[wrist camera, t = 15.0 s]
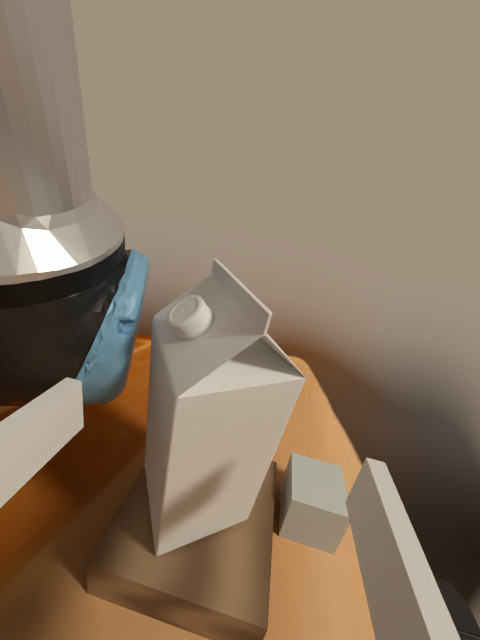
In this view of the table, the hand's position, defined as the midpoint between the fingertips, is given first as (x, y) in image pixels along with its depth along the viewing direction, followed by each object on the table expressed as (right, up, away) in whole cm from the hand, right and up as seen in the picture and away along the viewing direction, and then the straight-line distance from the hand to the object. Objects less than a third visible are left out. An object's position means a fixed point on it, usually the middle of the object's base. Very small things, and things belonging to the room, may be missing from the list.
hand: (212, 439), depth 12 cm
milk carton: (-3, -9, +10) cm, 14 cm away
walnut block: (-3, -13, +11) cm, 18 cm away
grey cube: (+8, -14, +14) cm, 21 cm away
